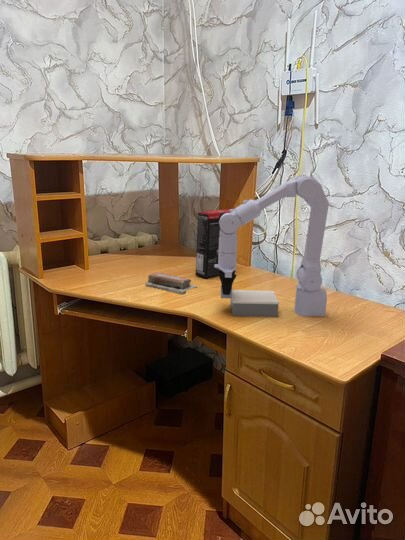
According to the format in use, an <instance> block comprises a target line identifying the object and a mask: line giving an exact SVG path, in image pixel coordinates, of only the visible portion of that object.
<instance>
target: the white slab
mask: <svg viewBox="0 0 405 540" xmlns="http://www.w3.org/2000/svg"><path fill="white" fill-rule="evenodd" d="M231 298H232V302H233V303H243V304H278V305H280V301H279V299H278V298H277V296H276V294H275V292H274V290H252V289H251V290H250V289H249V290H247V289H246V290H245V289H233V287H232V288H231V292H230V295H223V291H222V284H221V285H220V299H231Z"/></svg>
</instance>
